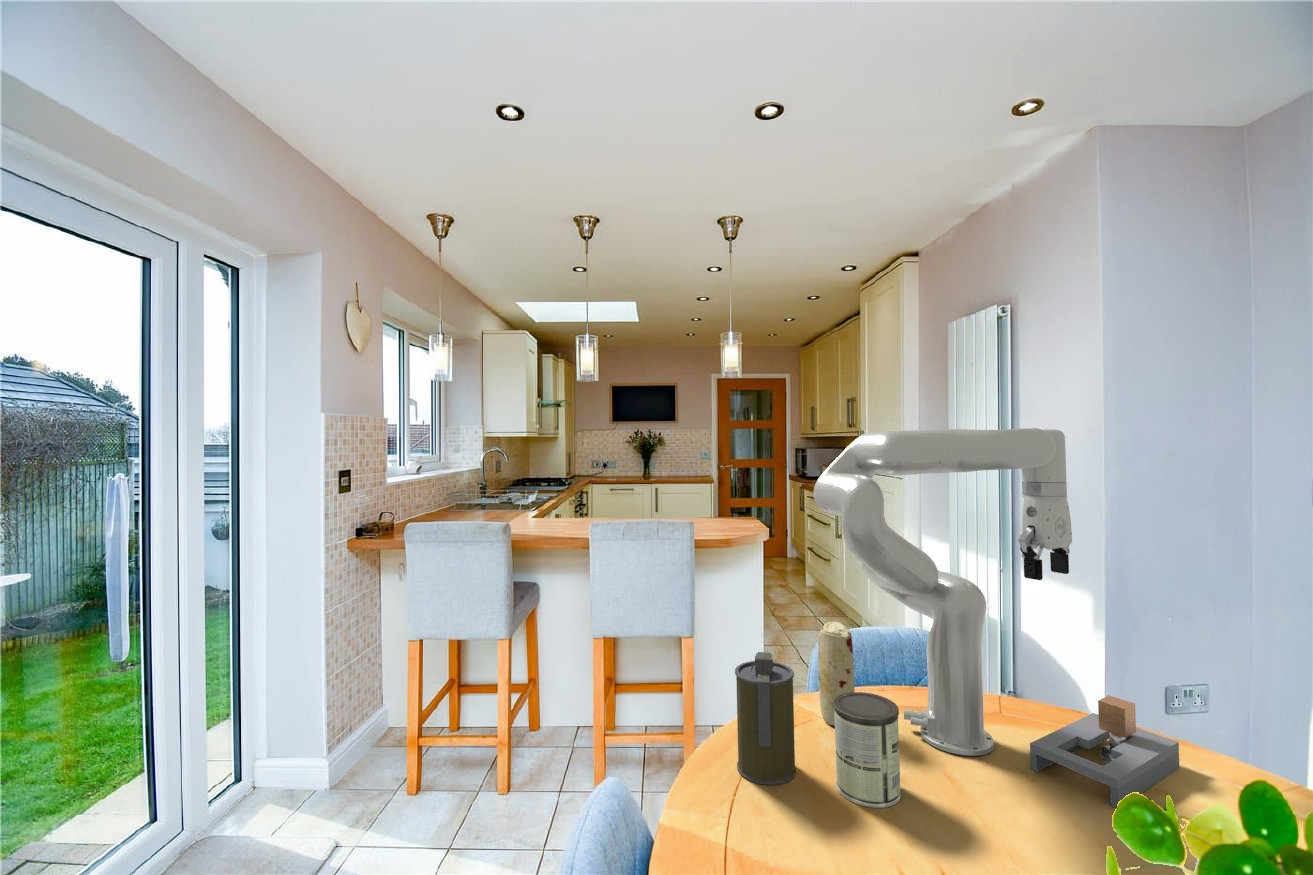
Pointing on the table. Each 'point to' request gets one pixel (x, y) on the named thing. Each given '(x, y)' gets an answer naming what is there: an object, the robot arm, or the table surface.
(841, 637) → the food model
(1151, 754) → the keyhole board
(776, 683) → the canister
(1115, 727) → the peg
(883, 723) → the coffee can
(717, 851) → the table surface
